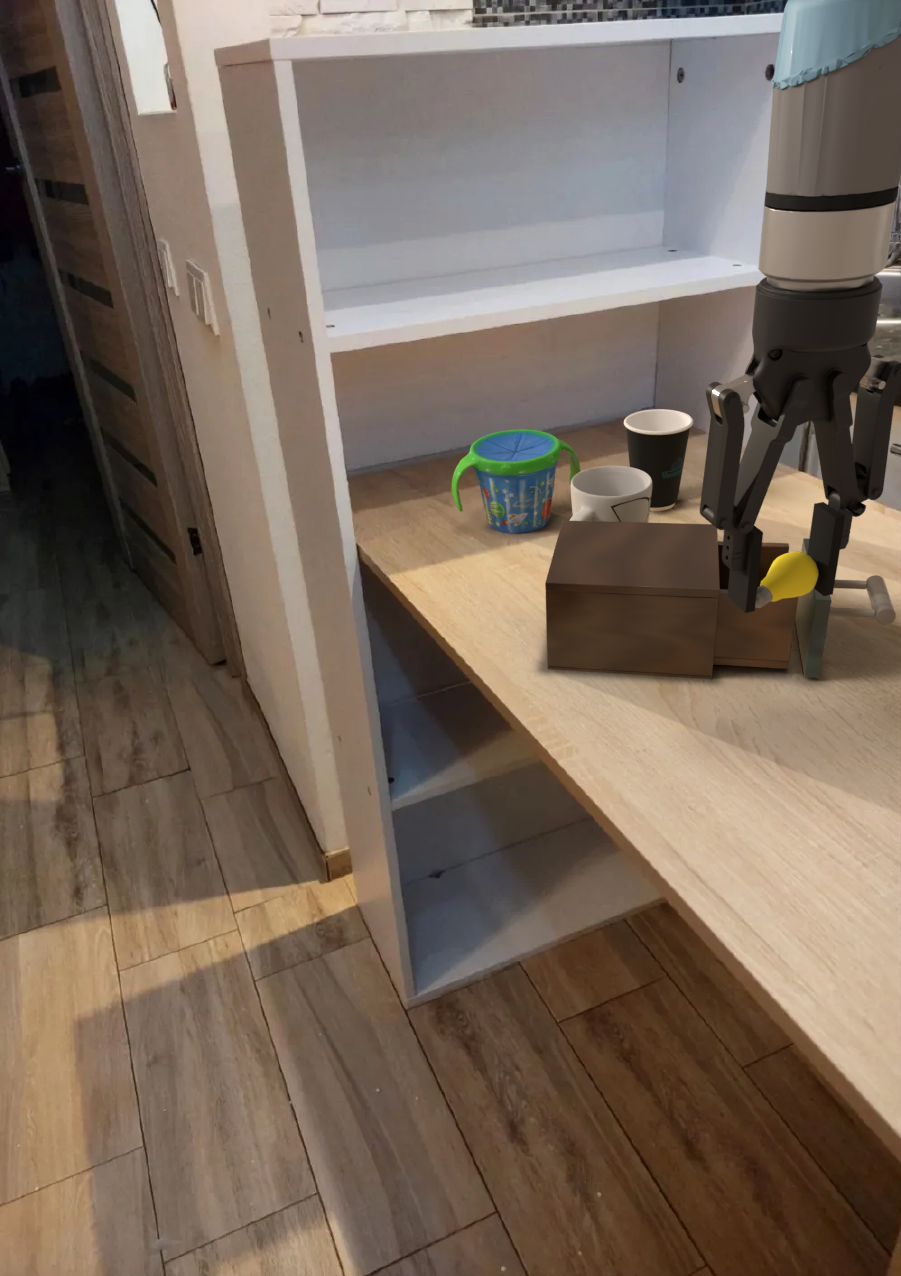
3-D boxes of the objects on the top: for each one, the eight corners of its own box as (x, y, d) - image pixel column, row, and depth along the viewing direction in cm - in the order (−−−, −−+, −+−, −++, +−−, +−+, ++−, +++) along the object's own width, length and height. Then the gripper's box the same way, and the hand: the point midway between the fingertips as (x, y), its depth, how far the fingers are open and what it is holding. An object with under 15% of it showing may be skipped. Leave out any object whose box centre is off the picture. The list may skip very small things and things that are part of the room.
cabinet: (709, 611, 92) (717, 524, 87) (711, 684, 82) (719, 589, 77) (563, 604, 96) (562, 520, 91) (547, 673, 85) (545, 582, 80)
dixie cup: (626, 492, 118) (628, 408, 112) (690, 495, 116) (695, 409, 110) (617, 518, 112) (619, 431, 106) (684, 522, 110) (690, 433, 104)
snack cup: (463, 552, 107) (456, 470, 102) (448, 515, 116) (441, 438, 111) (593, 533, 109) (593, 451, 104) (568, 498, 118) (567, 421, 112)
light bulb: (824, 590, 71) (832, 561, 68) (764, 631, 70) (769, 603, 67) (792, 563, 73) (798, 534, 70) (733, 603, 72) (736, 575, 69)
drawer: (870, 613, 88) (884, 540, 84) (891, 682, 79) (908, 603, 75) (663, 604, 92) (666, 534, 88) (659, 668, 83) (663, 593, 79)
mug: (604, 603, 95) (605, 514, 90) (539, 580, 100) (536, 495, 95) (663, 560, 102) (668, 475, 97) (600, 541, 107) (600, 459, 102)
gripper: (911, 248, 63) (859, 552, 75) (654, 285, 60) (644, 596, 72) (992, 266, 57) (921, 594, 69) (710, 309, 54) (688, 645, 66)
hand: (779, 594), depth 71 cm, fingers closed on light bulb, 6 cm apart
